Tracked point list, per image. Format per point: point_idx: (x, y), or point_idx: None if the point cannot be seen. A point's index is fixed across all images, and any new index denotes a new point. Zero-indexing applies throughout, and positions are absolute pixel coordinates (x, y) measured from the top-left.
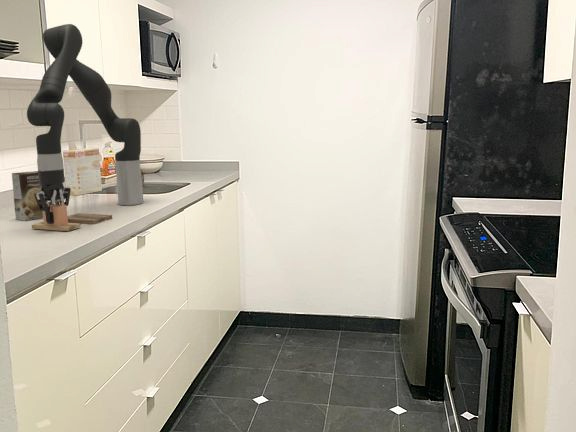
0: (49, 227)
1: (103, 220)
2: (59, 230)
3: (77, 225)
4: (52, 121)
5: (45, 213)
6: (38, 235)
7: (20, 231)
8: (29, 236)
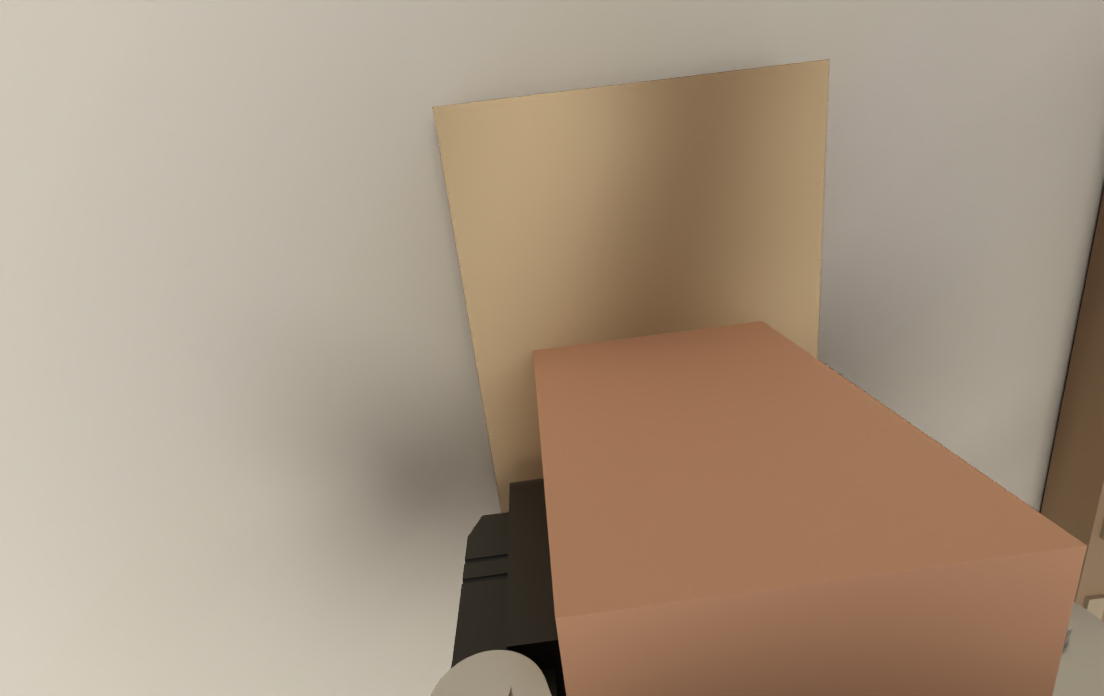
0: (500, 494)
1: None
2: None
3: None
4: None
5: (454, 656)
6: (224, 557)
7: (228, 47)
8: (111, 505)
